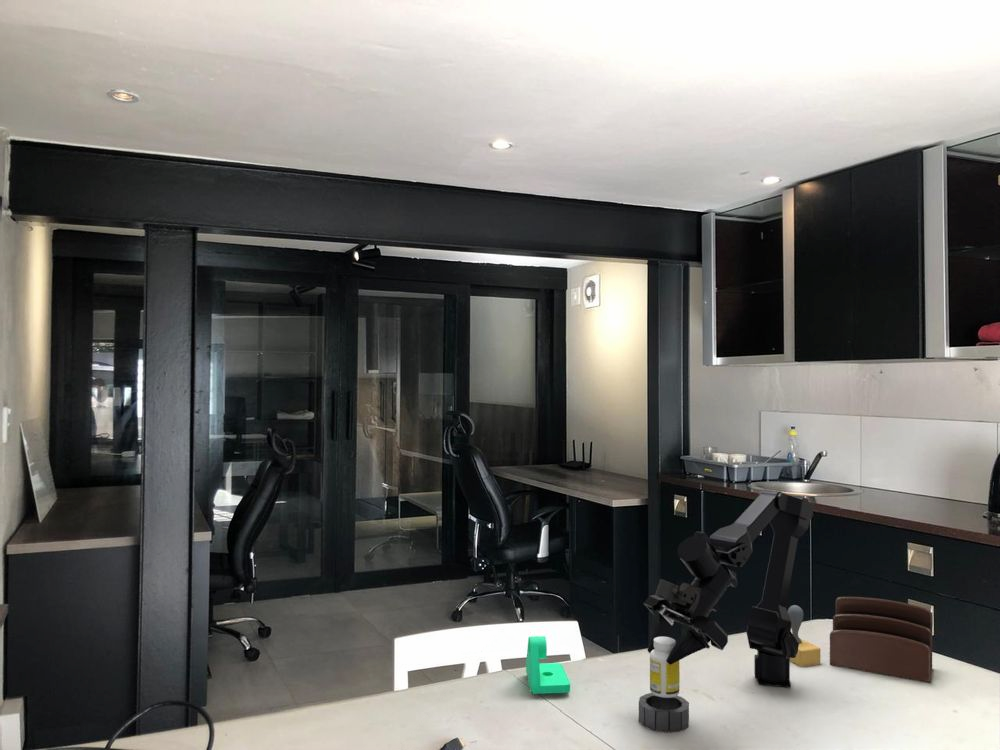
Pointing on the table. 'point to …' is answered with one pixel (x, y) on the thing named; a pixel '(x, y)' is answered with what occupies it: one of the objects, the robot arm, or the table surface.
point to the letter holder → (882, 637)
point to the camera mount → (544, 670)
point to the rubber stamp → (802, 641)
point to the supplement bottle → (663, 669)
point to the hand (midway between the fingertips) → (658, 657)
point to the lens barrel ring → (664, 713)
